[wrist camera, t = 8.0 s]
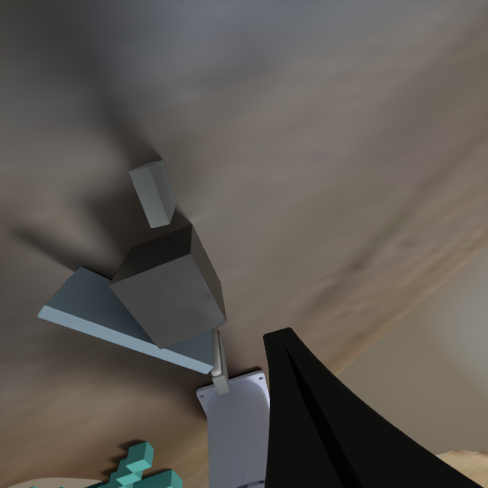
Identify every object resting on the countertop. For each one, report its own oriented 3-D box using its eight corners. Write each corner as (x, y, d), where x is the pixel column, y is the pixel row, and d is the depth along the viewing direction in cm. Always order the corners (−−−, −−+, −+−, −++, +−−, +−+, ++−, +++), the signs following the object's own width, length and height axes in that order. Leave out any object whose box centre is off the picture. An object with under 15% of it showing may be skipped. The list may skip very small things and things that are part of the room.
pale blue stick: (211, 325, 21) (214, 366, 17) (205, 332, 21) (206, 374, 18) (80, 266, 16) (44, 304, 12) (74, 276, 17) (37, 316, 13)
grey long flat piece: (224, 347, 23) (229, 391, 19) (215, 350, 23) (218, 395, 19) (162, 159, 15) (149, 166, 11) (147, 162, 14) (128, 171, 10)
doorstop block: (220, 281, 20) (227, 322, 15) (168, 302, 20) (159, 349, 15) (192, 224, 17) (190, 253, 13) (131, 247, 17) (108, 285, 12)
